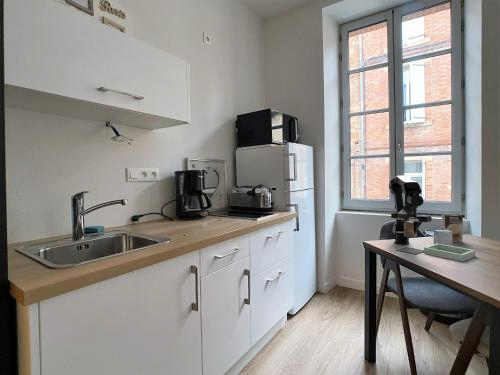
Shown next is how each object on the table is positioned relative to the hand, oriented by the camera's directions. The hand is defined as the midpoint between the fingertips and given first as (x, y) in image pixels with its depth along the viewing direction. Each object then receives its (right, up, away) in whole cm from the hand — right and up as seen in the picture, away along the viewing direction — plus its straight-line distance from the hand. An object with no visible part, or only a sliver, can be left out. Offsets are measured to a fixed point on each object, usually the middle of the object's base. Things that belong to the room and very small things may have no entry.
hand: (410, 232), depth 143 cm
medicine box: (+25, -9, +9) cm, 28 cm away
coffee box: (+37, -8, +19) cm, 43 cm away
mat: (0, -10, 0) cm, 10 cm away
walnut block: (0, -2, 0) cm, 2 cm away
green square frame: (+15, -10, -8) cm, 20 cm away
